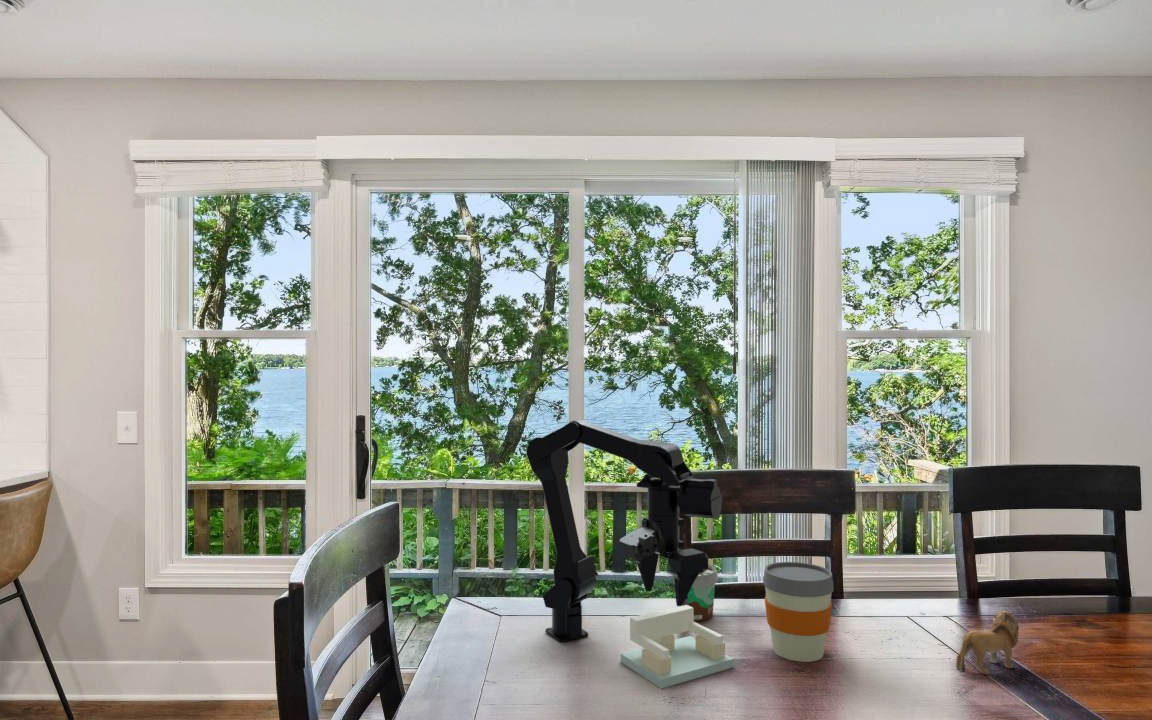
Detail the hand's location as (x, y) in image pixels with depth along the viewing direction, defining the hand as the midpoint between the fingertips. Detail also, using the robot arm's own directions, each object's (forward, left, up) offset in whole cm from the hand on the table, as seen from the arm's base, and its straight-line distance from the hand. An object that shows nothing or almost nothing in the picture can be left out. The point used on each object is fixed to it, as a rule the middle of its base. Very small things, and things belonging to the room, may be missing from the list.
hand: (663, 598), depth 130 cm
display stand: (+4, 0, -11) cm, 11 cm away
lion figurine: (+32, +47, -11) cm, 58 cm away
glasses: (+4, 0, -7) cm, 8 cm away
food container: (-12, +20, -11) cm, 26 cm away
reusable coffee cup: (+11, +23, -11) cm, 28 cm away
